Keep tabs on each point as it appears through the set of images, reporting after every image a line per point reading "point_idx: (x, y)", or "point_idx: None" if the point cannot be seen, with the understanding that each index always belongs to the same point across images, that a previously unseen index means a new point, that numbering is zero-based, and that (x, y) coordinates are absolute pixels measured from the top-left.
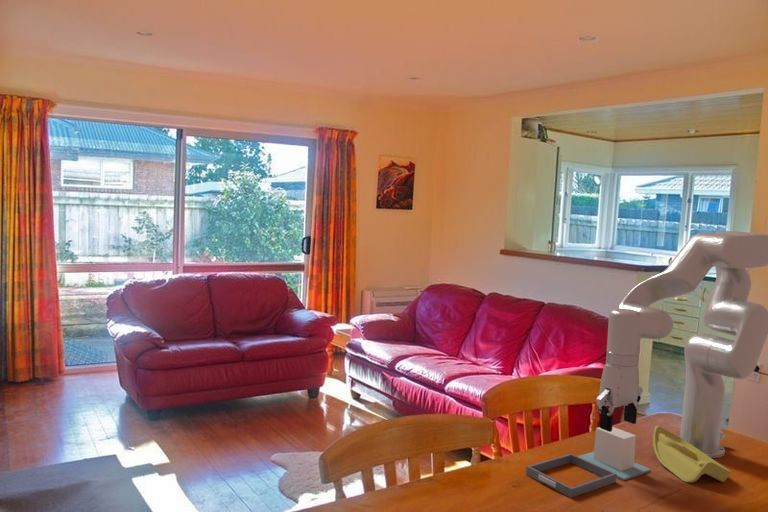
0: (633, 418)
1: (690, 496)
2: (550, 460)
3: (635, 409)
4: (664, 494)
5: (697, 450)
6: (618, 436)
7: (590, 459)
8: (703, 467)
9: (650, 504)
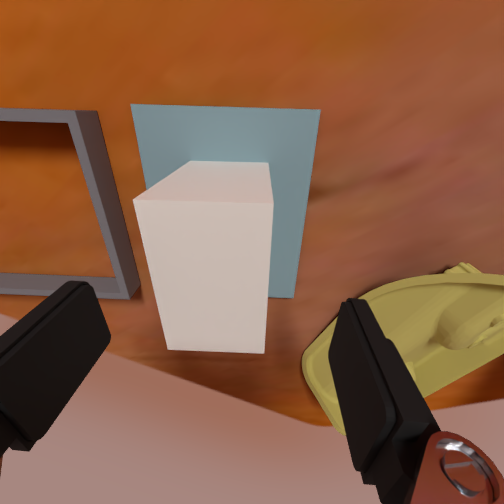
0: (335, 384)
1: (244, 377)
2: None
3: (363, 474)
4: (202, 355)
5: (495, 352)
6: (167, 326)
7: (174, 158)
8: (327, 414)
9: (136, 359)
